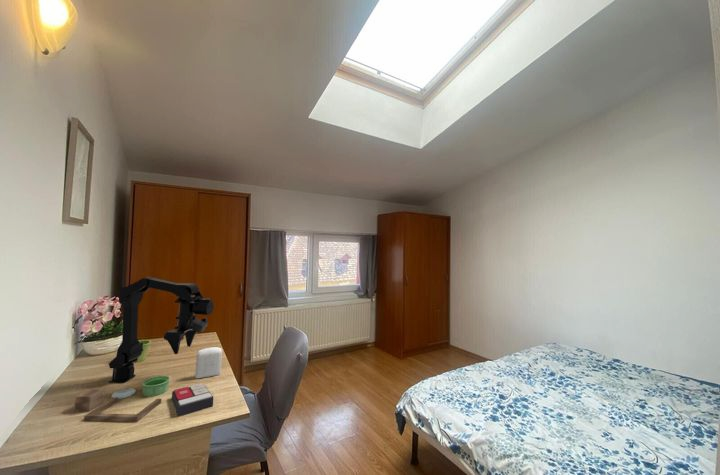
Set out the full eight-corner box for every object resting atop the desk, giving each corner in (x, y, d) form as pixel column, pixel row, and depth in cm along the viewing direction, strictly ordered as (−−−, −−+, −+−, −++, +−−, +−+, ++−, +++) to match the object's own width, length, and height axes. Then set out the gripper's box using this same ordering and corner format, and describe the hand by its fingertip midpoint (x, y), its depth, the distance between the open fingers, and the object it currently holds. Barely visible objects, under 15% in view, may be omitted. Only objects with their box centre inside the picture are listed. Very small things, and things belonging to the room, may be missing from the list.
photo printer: (219, 371, 130) (221, 344, 131) (221, 375, 127) (223, 347, 127) (194, 376, 125) (196, 348, 125) (195, 380, 121) (197, 351, 122)
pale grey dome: (106, 399, 103) (106, 397, 103) (121, 389, 110) (121, 388, 110) (125, 399, 104) (125, 397, 104) (139, 390, 110) (139, 388, 111)
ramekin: (162, 396, 107) (163, 385, 107) (135, 398, 105) (137, 386, 105) (173, 385, 115) (174, 374, 116) (148, 386, 114) (149, 375, 114)
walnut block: (74, 411, 95) (75, 396, 95) (88, 403, 100) (89, 389, 100) (89, 411, 95) (90, 396, 96) (102, 403, 100) (103, 389, 101)
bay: (83, 420, 90) (84, 415, 91) (113, 401, 102) (114, 397, 102) (137, 421, 91) (137, 417, 91) (161, 402, 102) (161, 398, 103)
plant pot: (152, 360, 140) (154, 342, 140) (129, 366, 132) (131, 347, 132) (144, 355, 145) (146, 338, 145) (122, 361, 137) (123, 343, 137)
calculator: (204, 381, 113) (213, 394, 102) (203, 392, 113) (213, 407, 102) (172, 389, 106) (178, 404, 95) (171, 401, 106) (177, 417, 95)
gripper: (193, 319, 111) (189, 359, 110) (215, 309, 129) (212, 343, 129) (164, 318, 110) (160, 358, 109) (191, 308, 129) (187, 342, 128)
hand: (182, 350), depth 119 cm, fingers open, 9 cm apart
